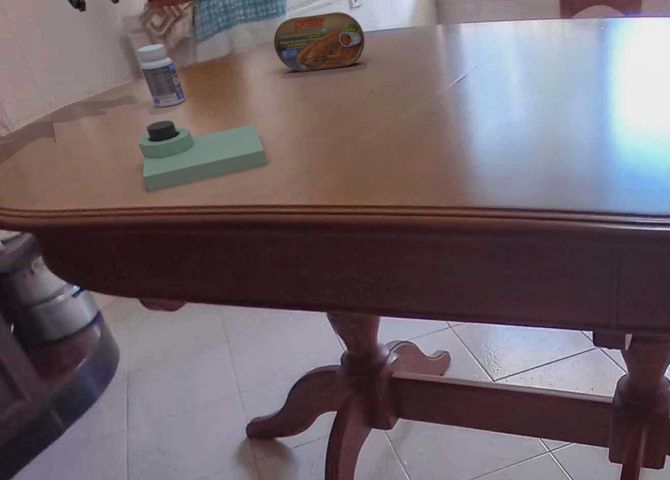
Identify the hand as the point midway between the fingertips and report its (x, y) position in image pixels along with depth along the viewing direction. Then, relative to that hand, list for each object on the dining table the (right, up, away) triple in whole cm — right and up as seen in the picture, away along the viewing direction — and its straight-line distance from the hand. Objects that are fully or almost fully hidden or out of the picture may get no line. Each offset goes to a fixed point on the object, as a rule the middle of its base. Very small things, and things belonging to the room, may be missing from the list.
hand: (100, 3), depth 110 cm
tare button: (+21, -28, -23) cm, 42 cm away
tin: (+33, -6, +11) cm, 35 cm away
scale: (+26, -31, -22) cm, 46 cm away
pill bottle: (+10, -15, +2) cm, 18 cm away
